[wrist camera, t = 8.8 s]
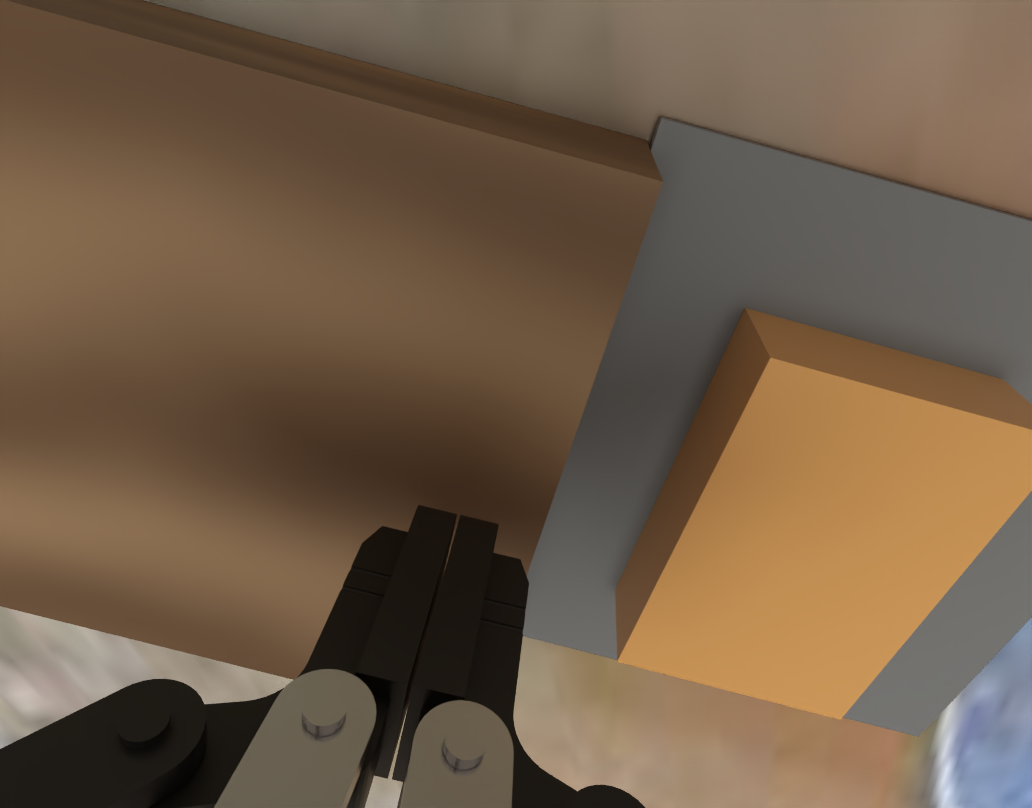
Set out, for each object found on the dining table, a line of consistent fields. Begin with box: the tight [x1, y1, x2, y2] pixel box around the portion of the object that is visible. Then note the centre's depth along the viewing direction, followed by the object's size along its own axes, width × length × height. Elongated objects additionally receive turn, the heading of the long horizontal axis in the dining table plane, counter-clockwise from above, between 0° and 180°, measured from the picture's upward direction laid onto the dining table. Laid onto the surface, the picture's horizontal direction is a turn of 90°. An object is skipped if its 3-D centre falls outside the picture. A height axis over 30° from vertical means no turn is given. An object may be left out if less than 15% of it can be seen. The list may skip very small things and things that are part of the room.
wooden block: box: [0, 0, 663, 708], centre depth 15 cm, size 14×16×4 cm
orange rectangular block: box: [615, 308, 1032, 720], centre depth 16 cm, size 9×6×2 cm, turn 166°
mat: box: [523, 116, 1032, 737], centre depth 17 cm, size 15×14×1 cm
